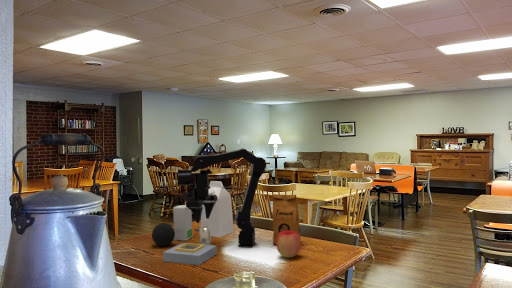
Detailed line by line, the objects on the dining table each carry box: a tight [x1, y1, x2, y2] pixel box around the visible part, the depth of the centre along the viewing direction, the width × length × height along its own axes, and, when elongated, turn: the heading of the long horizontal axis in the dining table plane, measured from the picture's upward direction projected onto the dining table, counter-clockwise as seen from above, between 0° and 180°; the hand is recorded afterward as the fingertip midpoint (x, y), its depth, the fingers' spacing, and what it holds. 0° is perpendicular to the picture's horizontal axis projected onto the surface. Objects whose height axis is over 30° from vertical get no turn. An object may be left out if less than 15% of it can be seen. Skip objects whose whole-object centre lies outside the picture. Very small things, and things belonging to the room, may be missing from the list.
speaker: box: [151, 222, 175, 247], centre depth 170 cm, size 10×10×10 cm
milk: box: [200, 180, 235, 238], centre depth 190 cm, size 12×12×26 cm
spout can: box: [194, 226, 212, 245], centre depth 165 cm, size 7×5×9 cm
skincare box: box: [172, 204, 193, 242], centre depth 181 cm, size 8×7×16 cm
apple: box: [275, 230, 302, 259], centre depth 149 cm, size 10×10×10 cm
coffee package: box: [271, 193, 302, 245], centre depth 168 cm, size 10×12×22 cm
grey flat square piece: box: [162, 242, 218, 266], centre depth 151 cm, size 16×14×4 cm
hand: (202, 220), depth 164 cm, fingers open, 9 cm apart
